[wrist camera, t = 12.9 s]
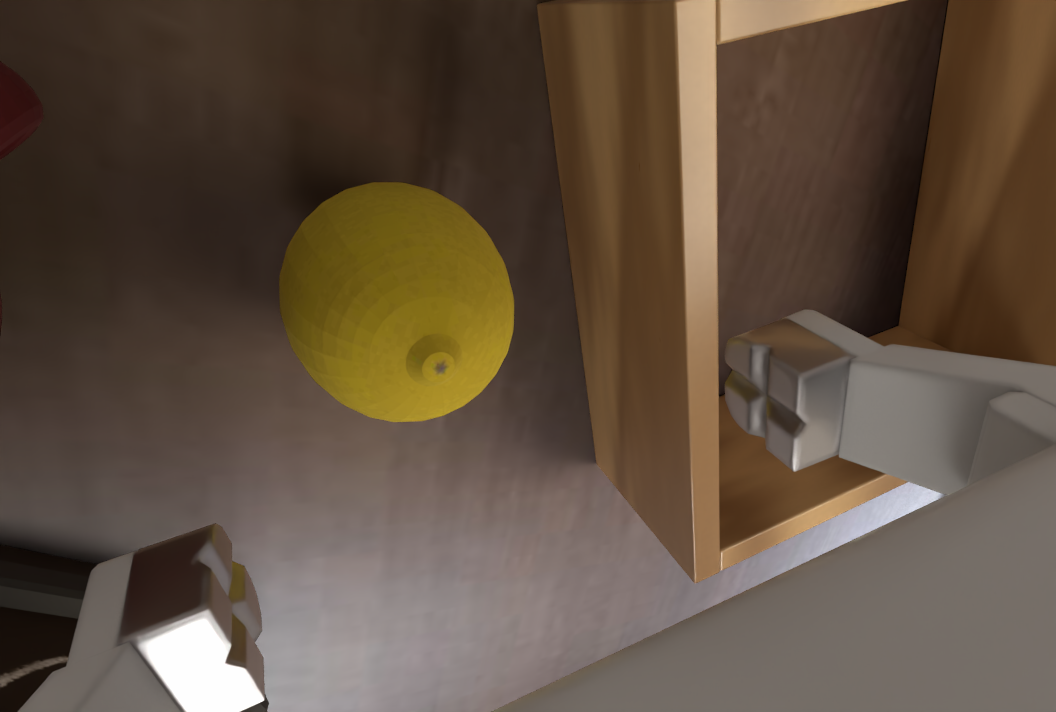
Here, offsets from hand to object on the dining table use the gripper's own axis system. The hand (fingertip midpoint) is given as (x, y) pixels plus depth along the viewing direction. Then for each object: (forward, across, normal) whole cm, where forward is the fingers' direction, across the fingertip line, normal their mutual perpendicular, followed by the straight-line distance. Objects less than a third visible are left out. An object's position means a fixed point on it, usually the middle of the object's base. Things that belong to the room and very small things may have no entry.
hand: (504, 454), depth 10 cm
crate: (+12, -15, +3) cm, 19 cm away
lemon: (+12, 0, 0) cm, 12 cm away
